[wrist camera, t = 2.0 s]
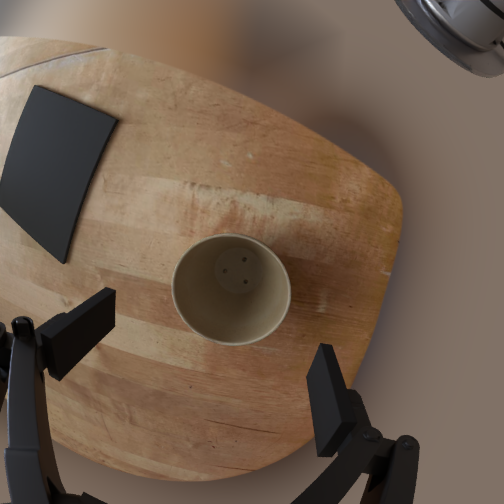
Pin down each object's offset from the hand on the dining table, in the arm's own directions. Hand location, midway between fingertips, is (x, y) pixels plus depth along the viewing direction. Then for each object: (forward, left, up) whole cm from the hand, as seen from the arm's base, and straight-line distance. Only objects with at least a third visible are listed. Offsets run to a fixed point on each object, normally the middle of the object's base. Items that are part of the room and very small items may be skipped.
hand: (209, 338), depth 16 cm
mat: (+30, -7, -14) cm, 34 cm away
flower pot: (0, 0, -14) cm, 14 cm away
